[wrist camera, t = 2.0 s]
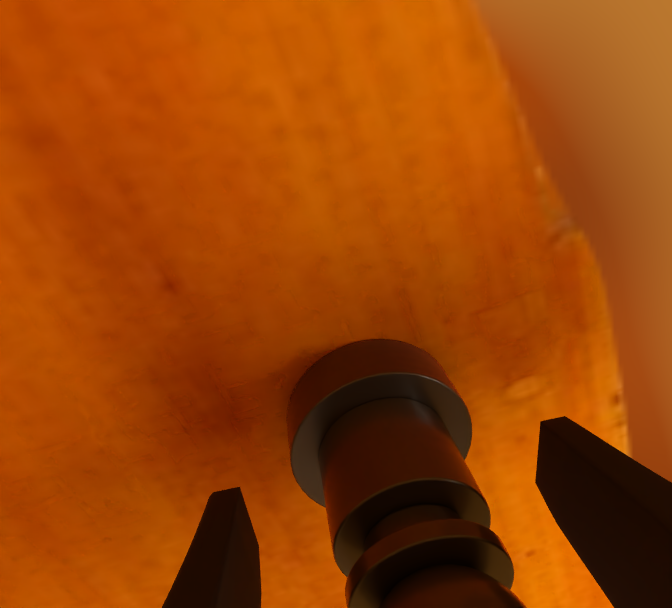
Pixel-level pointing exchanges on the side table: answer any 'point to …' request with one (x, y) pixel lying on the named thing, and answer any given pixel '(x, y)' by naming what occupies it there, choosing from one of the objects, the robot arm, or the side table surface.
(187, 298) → the side table surface
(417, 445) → the chess pawn
